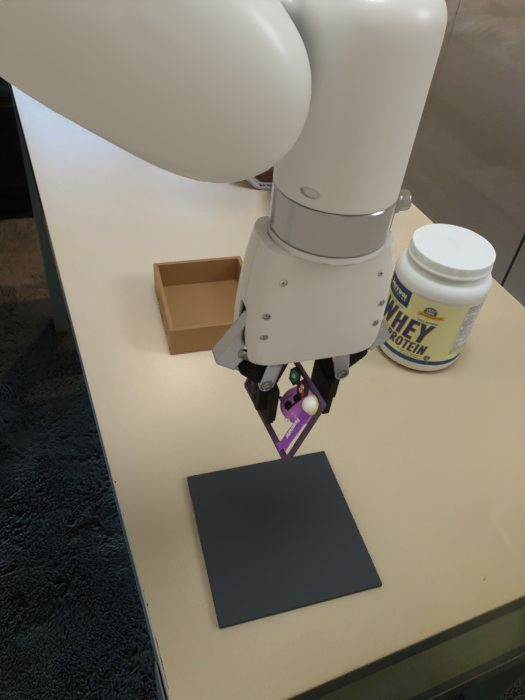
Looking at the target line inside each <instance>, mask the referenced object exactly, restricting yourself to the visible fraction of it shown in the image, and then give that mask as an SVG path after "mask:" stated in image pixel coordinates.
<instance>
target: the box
mask: <svg viewBox="0 0 525 700" xmlns="http://www.w3.org/2000/svg"><path fill="white" fill-rule="evenodd" d="M242 264H243V258H242V256H241V255H235V256H234V255H233V256H221V257H211V258H210V257H209V258H199V259H187V260H178V261H177V260H176V261H175V260H174V261H165V262H154V263H152V265H153V282H154V283H153V284H154V290H155V294H156V298H157V303H158V307H159V312H160V316H161V320H162V324H163V328H164V332H165V337H166V340H167V345H168V349H169V354H170V356H173V355H181V354H188V353H199V352H205V351H212V348H213V347H214V345H215V344H216V343H217V342H218V341H219V340H220V338H221V337H222V336H223V335H224V334H225V332H226V331H227V330H228V329H229V328H230V327H231V325H232V324H233V323H234V309H235V301H236V294H237V288H238V283H239V278H240V273H241V268H242Z"/></svg>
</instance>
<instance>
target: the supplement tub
mask: <svg viewBox="0 0 525 700" xmlns="http://www.w3.org/2000/svg"><path fill="white" fill-rule="evenodd" d="M496 257H497V252H496V250H495V247H494V246H493V245H492V244H491V243H490V242H489V240H488V239H486V238H485V237H484V236H482V235H481V234H479V233H477V232H475V231H473V230H471V229H468V228H465V227H462V226H459V225H456V224H455V225H454V224H451V223H449V224H448V223H429V224H424V225H422V226H420V227H418V228H417V229H416V230H414V232H413V234H412V237H411V239H410V240H409V243H408V245H407V247H405V248H404V249H403V250H402V251H401V252H400V253H399V255H398V257H397V259H396V261H395V265H394V269H393V271H392V274H391V282H390V288H389V293H388V298H387V303H386V307H385V311H384V315H383V321H384V323H385V325H386V327H387V329H388V331H389V332H390V334H391V337H390V339H389V340H387V341H386V342H384V343H383V344H381V345H379V346H378V347H379V348H380V349H381V350H382V352H383V353H384V354H385V355H386V356H387V357H389V358H390V359H391V360H392V361H394V362H395V363H398V364H400V365H401V366H404V367H406V368H409V369H412V370H416V371H422V372H423V371H424V372H431V371H440V370H442V369H445V368H448V367H449V366H451V365H452V364H453V363H455V362H456V360H457V359H458V358H459V357H460V355H461V354H462V351H463V348H464V347H465V344H466V342H467V340H468V338H469V336H470V333H471V331H472V329H473V328H474V326H475V323H476V321H477V319H478V317H479V315H480V312H481V310H482V308H483V306H484V304H485V302H486V300H487V298H488V295H489V294H490V292H491V289H492V285H493V276H492V271H493V269H494V263H495V262H496V259H497V258H496Z"/></svg>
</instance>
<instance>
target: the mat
mask: <svg viewBox="0 0 525 700" xmlns="http://www.w3.org/2000/svg"><path fill="white" fill-rule="evenodd" d="M326 454H327V453H326V451H325V450H321V451H316V452H309V453H305V454H299V455H294V456H293V458H292V460H291V461H290V462H289V463H284V462H283V461H282V459H281V458H277V459H274V460H273V459H272V460H267V461H263V462H257V463H252V464H247V465H240V466H235V467H231V468H230V467H229V468H226V469H220V470H215V471H210V472H204V473H199V474H194V475H188V476H187V477H186V481H187V485H188V486H187V487H188V489H189V495H190V498H191V499H190V500H191V503H192V508H193V513H194V517H195V523H196V527H197V531H198V536H199V541H200V545H201V549H202V553H203V559H204V563H205V566H206V572H207V577H208V581H209V585H210V590H211V591H210V592H211V596H212V600H213V604H214V608H215V613H216V619H217V622H218V627H219V630H222V629H225V628H230V627H233V626H236V625H237V626H238V625H241V624H245V623H248V622H251V621H255V620H256V621H257V620H259V619H263V618H267V617H271V616H275V615H278V614H279V615H280V614H282V613H285V612H289V611H293V610H297V609H301V608H305V607H308V606H312V605H316V604H319V603H323V602H327V601H331V600H335V599H339V598H342V597H346V596H349V595H355V594H357V593H361V592H365V591H368V590H372V589H373V590H374V589H376V588H380V587H382V586H383V581H382V580H381V578H380V575H379V573H378V571H377V570H378V569H377V568H376V566H375V564H374V561H373V559H372V557H371V555H370V553H369V550H368V548H367V545H366V543H365V540H364V538H363V536H362V533H361V532H360V530H359V527H358V525H357V523H356V520H355V518H354V516H353V514H352V511H351V509H350V506H349V504H348V502H347V500H346V498H345V495H344V493H343V491H342V488H341V486H340V484H339V482H338V478H337V477H336V475H335V472H334V470H333V468H332V465H331V463H330V460H329V459H328V457H327V455H326Z"/></svg>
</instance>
